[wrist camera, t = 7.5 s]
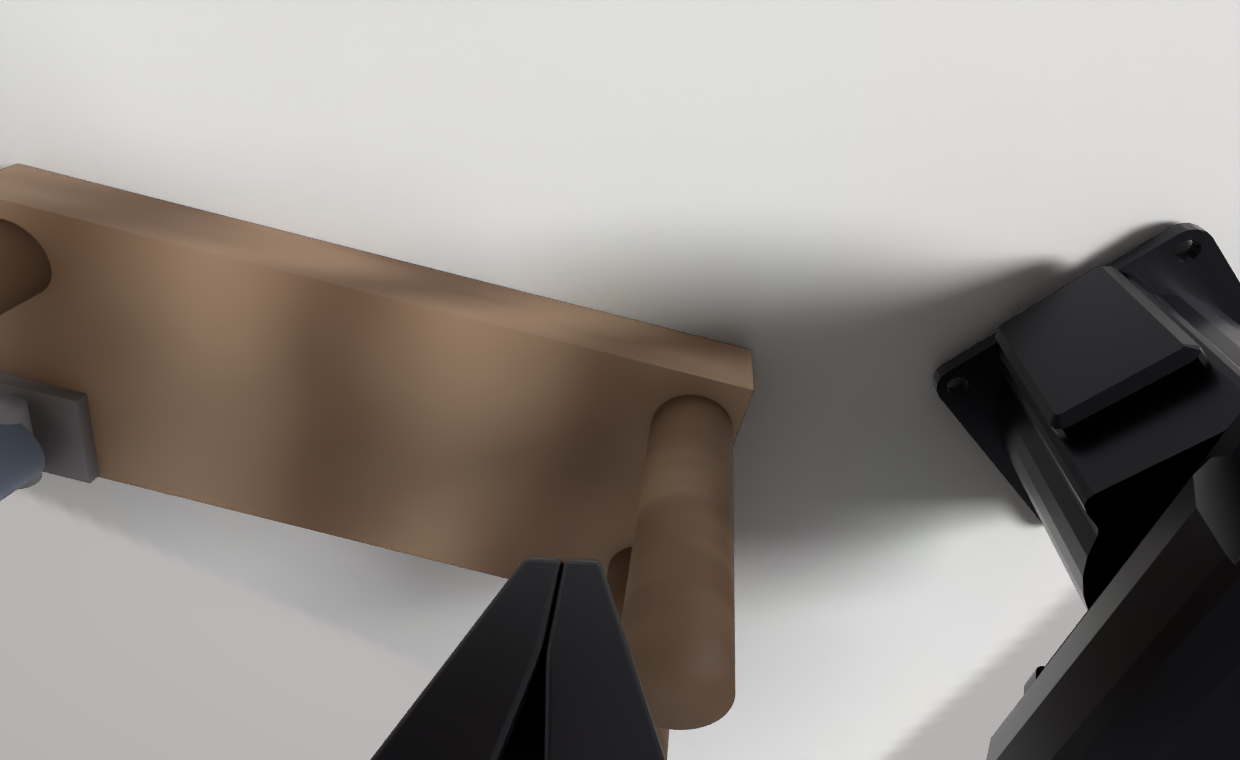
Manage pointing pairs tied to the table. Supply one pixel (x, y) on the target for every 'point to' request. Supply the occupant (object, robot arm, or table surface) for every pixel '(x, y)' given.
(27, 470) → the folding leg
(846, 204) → the table surface
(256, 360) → the stool
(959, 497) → the table surface
